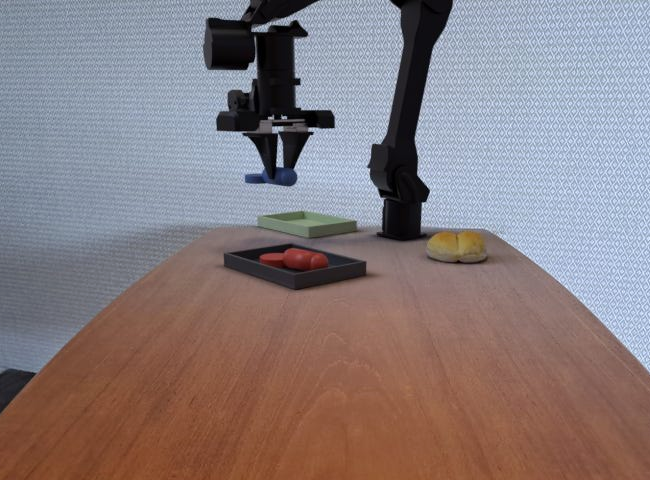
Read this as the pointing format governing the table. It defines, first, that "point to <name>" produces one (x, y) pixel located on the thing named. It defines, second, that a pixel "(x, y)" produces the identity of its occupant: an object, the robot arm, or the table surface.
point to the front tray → (292, 278)
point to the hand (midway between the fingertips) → (279, 178)
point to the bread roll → (457, 247)
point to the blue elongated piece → (281, 178)
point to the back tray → (307, 223)
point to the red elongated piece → (296, 260)
